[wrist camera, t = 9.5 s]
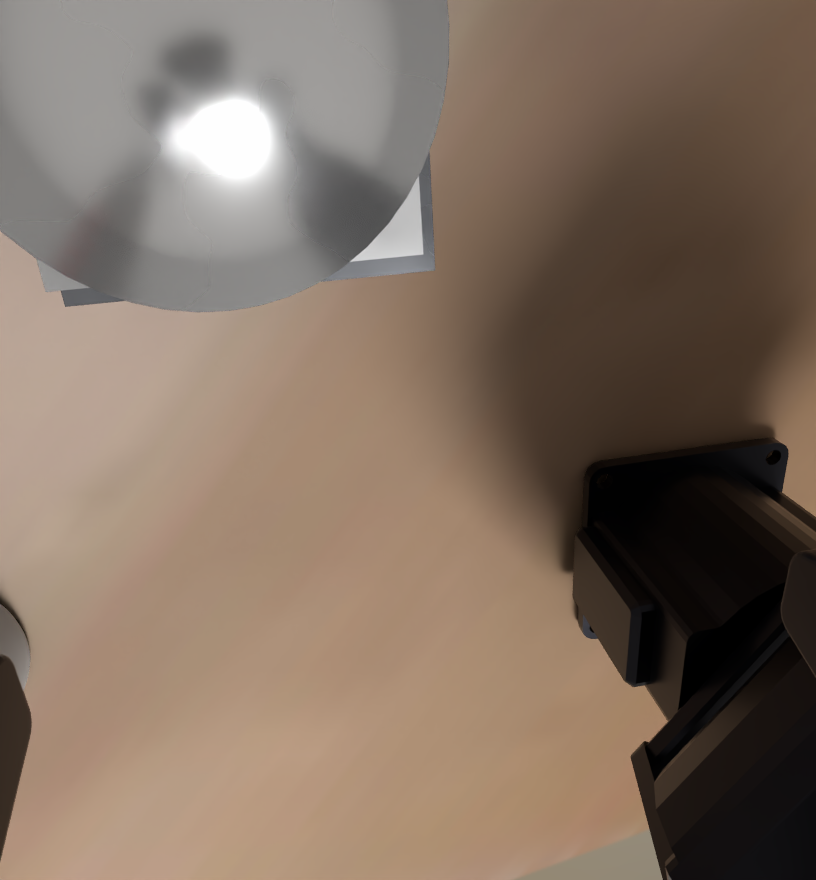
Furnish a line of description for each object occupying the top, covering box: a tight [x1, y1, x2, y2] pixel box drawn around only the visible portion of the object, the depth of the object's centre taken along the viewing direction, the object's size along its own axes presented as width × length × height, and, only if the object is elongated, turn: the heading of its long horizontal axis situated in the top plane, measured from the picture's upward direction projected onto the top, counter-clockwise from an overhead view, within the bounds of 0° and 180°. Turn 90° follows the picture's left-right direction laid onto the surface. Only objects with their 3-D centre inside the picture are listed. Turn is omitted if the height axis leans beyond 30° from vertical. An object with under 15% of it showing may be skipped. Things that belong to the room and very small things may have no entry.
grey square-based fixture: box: [0, 0, 449, 312], centre depth 11 cm, size 6×6×6 cm
